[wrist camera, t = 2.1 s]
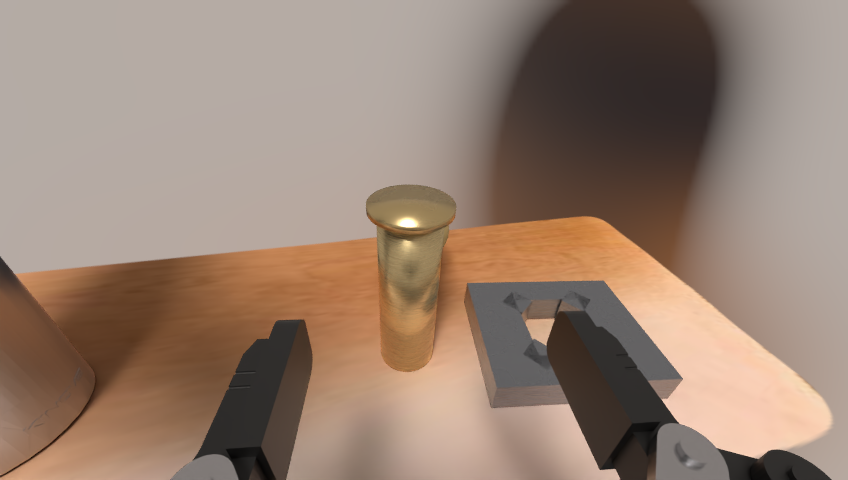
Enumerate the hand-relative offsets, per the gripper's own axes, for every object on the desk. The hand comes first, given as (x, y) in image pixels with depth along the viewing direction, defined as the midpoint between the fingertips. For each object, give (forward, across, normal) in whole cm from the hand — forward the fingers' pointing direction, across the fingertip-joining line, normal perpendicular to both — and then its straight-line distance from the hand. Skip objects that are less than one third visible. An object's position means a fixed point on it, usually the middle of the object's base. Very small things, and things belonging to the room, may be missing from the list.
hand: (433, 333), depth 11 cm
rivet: (+12, 0, +15) cm, 19 cm away
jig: (+12, -13, +15) cm, 23 cm away
